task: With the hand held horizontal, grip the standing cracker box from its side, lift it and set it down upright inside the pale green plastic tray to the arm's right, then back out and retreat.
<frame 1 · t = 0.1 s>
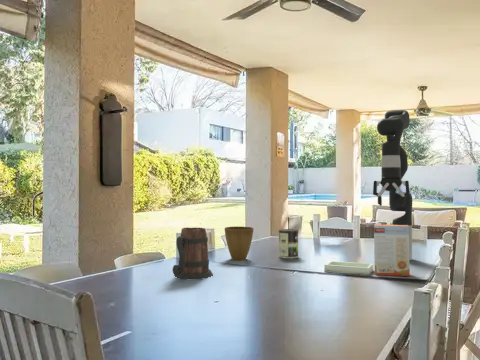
hand: (391, 205, 191), 29 cm above the table, tool pointing down, fingers open, 8 cm apart
plant pot: (239, 259, 236), on the table
coffee can: (288, 257, 242), on the table
cracker box: (391, 275, 195), on the table
tankard: (190, 277, 193), on the table
tray: (349, 271, 202), on the table
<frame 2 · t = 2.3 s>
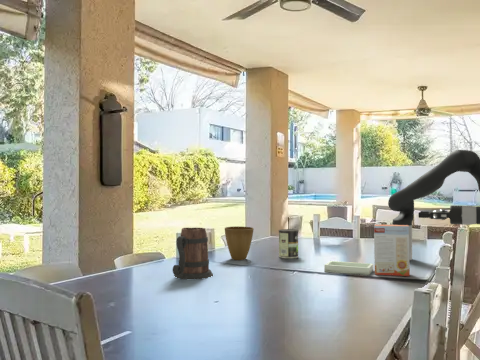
hand: (419, 214, 190), 26 cm above the table, tool horizontal, fingers open, 8 cm apart
nothing on the table moved.
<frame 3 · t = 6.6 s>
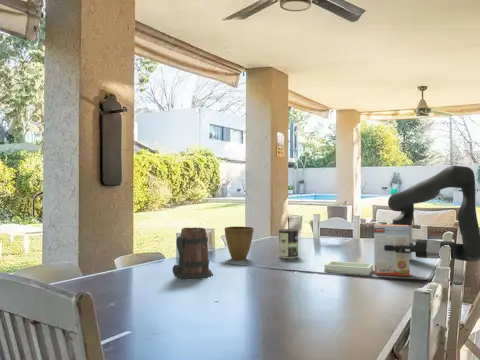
hand: (385, 246, 196), 12 cm above the table, tool horizontal, fingers closed on cracker box, 6 cm apart
cracker box: (391, 274, 195), on the table, touching gripper
everything else where it was.
when the fingers open (13 cm above the table, at t = 13.7 s): cracker box stays where it is, resting on tray.
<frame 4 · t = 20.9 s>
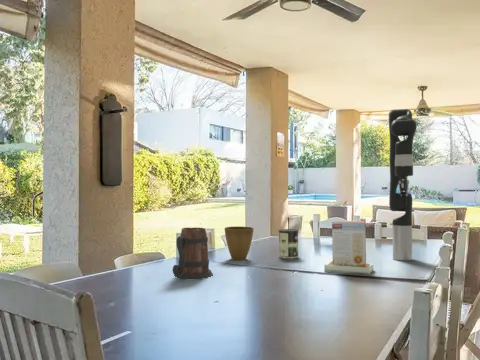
hand: (404, 204, 203), 29 cm above the table, tool pointing down, fingers closed
cracker box: (349, 269, 202), point 1 cm above the table, touching tray
everything else where it was.
at the end: cracker box inside the target area on the tray (0.1 cm from its centre), point 0.8 cm above the tray's base; cracker box tilted 0°; the gripper is holding nothing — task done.
